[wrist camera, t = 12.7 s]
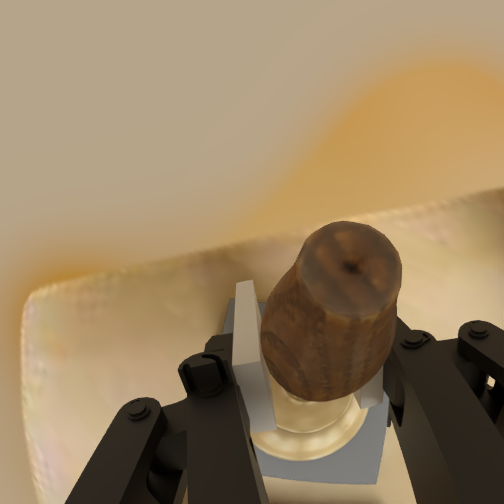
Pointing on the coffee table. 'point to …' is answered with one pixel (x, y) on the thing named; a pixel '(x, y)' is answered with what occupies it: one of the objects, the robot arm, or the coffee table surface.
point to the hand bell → (328, 338)
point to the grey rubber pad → (341, 461)
